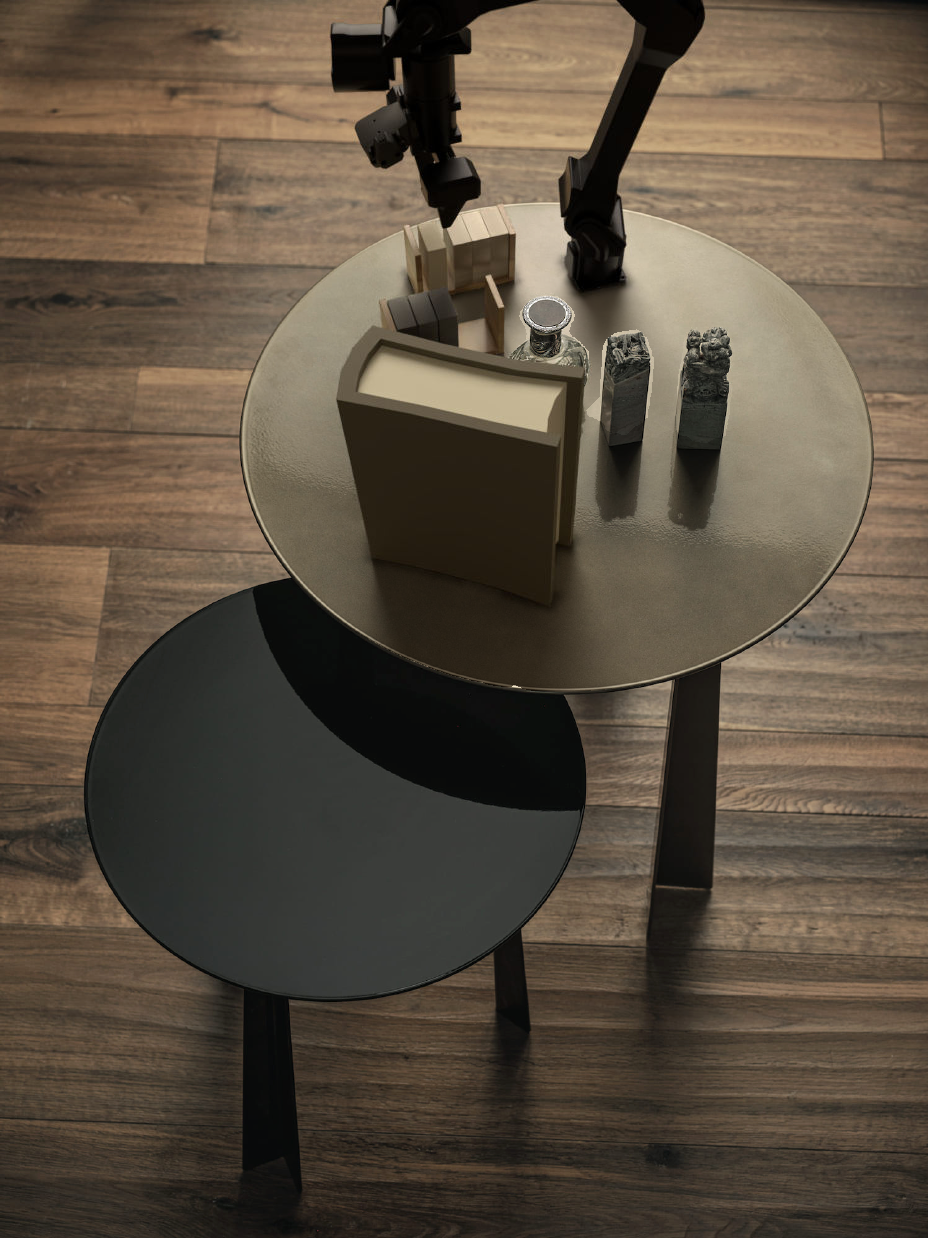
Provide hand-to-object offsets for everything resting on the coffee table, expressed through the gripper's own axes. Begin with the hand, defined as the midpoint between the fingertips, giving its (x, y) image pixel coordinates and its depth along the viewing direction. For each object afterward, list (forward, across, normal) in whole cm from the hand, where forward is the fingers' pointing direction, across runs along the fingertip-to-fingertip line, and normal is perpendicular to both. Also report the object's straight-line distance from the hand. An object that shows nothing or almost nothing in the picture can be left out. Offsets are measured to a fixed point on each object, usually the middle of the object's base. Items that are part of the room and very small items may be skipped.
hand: (435, 201), depth 133 cm
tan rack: (+12, +12, -3) cm, 17 cm away
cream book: (+11, +1, -1) cm, 11 cm away
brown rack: (+12, +1, +2) cm, 12 cm away
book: (+12, +41, -9) cm, 44 cm away
